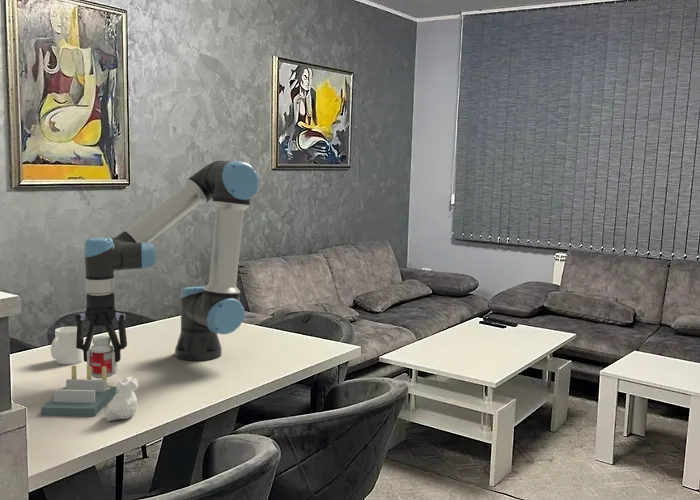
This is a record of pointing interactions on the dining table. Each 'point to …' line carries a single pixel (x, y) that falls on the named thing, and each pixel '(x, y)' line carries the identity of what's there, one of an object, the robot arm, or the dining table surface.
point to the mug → (66, 346)
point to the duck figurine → (123, 400)
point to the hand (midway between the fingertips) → (102, 372)
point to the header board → (80, 396)
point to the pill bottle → (101, 356)
